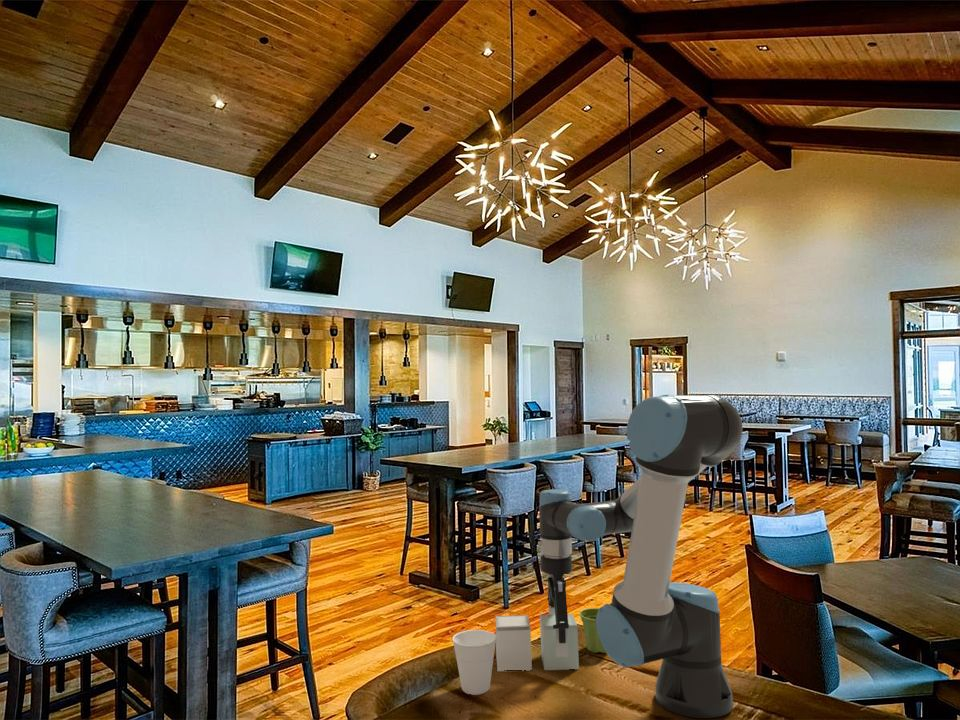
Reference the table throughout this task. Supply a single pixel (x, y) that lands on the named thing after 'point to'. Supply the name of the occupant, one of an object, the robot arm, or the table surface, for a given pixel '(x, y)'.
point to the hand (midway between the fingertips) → (558, 644)
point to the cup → (475, 659)
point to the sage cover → (550, 644)
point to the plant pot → (591, 630)
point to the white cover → (513, 643)
